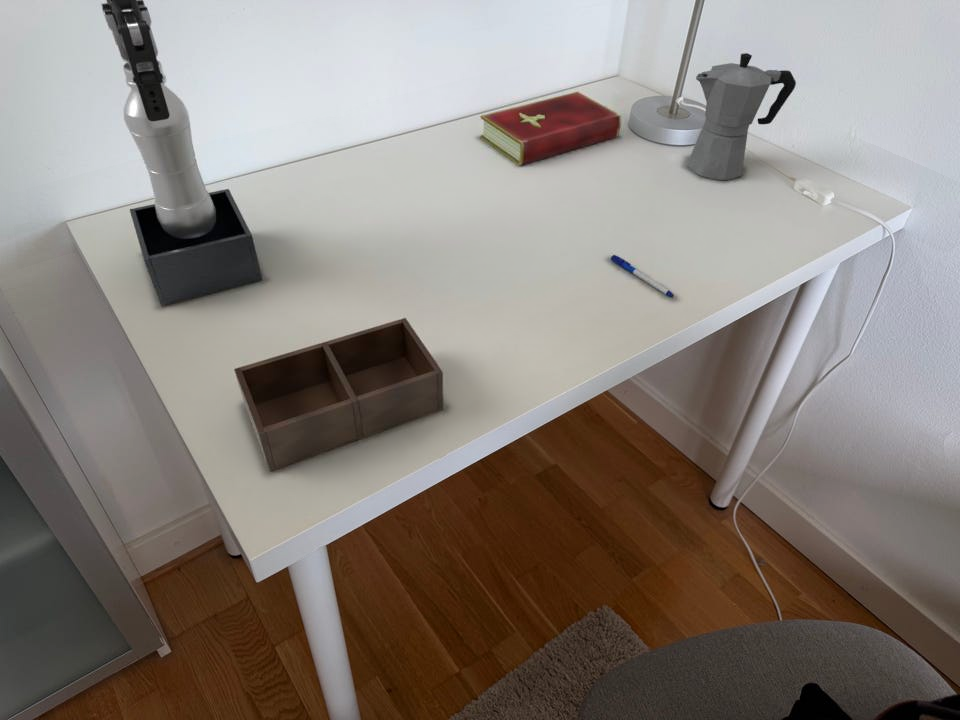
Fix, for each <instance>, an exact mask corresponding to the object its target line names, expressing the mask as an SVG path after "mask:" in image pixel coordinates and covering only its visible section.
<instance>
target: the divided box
mask: <svg viewBox="0 0 960 720" xmlns="http://www.w3.org/2000/svg"><path fill="white" fill-rule="evenodd" d="M233 371H234V374H235V378H236V381H237V383H238V387H239V390H240V393H241V397H242V400H243V403H244V407H245V410H246V412H247V415H248V417H249V420H250V423H251V426H252V429H253V431H254V433H255V436H256V439H257V441H258V444H259V447H260V450H261V453H262V455H263V458H264V460H265V463H266V465H267V468H268V471H269V472H272V471H275V470H278V469H280V468H283V467H286V466H289V465H292V464H295V463H298V462H301V461H304V460H306V459H309V458H312V457H314V456H317V455H319V454H322V453H326V452H328V451H331V450H334V449H336V448H339V447H342V446H345V445H349V444H350V443H353V442H356V441H359V440H362V439H365V438H368V437H370V436H372V435H375V434H378V433H382V432H384V431H387V430H389V429H392V428H395V427H397V426H401V425H403V424H406V423H409V422H412V421H414V420H417V419H420V418H424V417H426V416H429V415H432V414H435V413H437V412H439V411H442V410H444V372H443V370H442V369H441V367H440V366H439V364H438V363H437V362H436V359H434V357H433V356H432V355H431V352H430V351H429V350H428V348H427V347H426V346H425V344H424V343H423V341H422V340H421V338H420V337H419V335H418V333H417V332H416V330H415V329H414V327H412V325H411V324H410V322H409V321H408V319H407V317H404V318H400V319H396V320H393V321H390V322H386V323H383V324H380V325H376V326H373V327H370V328H366V329H363V330H360V331H357V332H354V333H350V334H347V335H343V336H340V337H337V338H333V339H330V340H327V341H324V342H319V343H315V344H313V345H309V346H306V347H302V348H300V349H297V350H293V351H289V352H287V353H282V354H279V355H277V356H273V357H269V358H265V359H263V360H259V361H256V362H252V363H249V364H246V365H241V366H240V367H235V368H234V369H233Z"/></svg>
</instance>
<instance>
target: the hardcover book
mask: <svg viewBox="0 0 960 720" xmlns="http://www.w3.org/2000/svg"><path fill="white" fill-rule="evenodd" d="M480 119H481V120H483V129H482V130H483V133H482V135H480V136H479V139H480V140H482V141H483V142H485V143H486V144H488V145H489V146H490V147H492V148H493V149H494V150H496V151H497V152H499V153H501V154H502V155H503V156H505V157H506V158H507V159H509V160H510V161H511V162H512V163H514V164H516V165H517V166H522V165H526V164H530V163H533V162H536V161H539V160H544V159H546V158H547V159H548V158H551V157H553V156H557V155H560V154H564V153H567V152H570V151H574V150H577V149H581V148H585V147H588V146H590V145H594V144H595V145H596V144H597V143H602V142H605V141H608V140H612V139H614V138H617V137H619V134H620V131H621V125H622V115H621V114H620V113H617V112H616V111H614V110H613V109H610V108H609V107H606V105H603V104H601V103H599V102H598V101H596V100H594V99H593V98H590V97H589V96H587V95H585V94H583V93H582V92H580V91H574V92H571V93H567V94H563V95H558V96H554V97H550V98H546V99H542V100H538V101H535V102H530V103H526V104H522V105H519V106H515V107H511V108H507V109H502V110H498V111H494V112H491V113H486V114H482V115H480Z"/></svg>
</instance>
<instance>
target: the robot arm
mask: <svg viewBox="0 0 960 720" xmlns="http://www.w3.org/2000/svg"><path fill="white" fill-rule="evenodd" d="M100 7H101V10H102V13H103V16H104V19H105V22H106V23H107V26H108V29H109V30H110V31H111V33H112V36H113V39H114V42H115V45H116V46H117V48H118V49H117V50H118V52H119V55H120V58H121V60H122V61H123V62H125V63H127V62H128V63H129V65H130V68H131V71H132V74H133V77H132V79H133V82H134V83H135V84H136V86H137V87H138V90H139V94H140V97H141V100H142V103H143V106H144V110H145V113H146V116H147V118H148V120H150V121H159V120H165V119H168V118H169V116H170V114H169V111H168V107H167V104H166V100H165V97H164V93H163V90H162V86H161V83H163V80H162V79H163V75H162V73H160V69H159V66H158V62H157V60H158V55H159V50H158V47H157V43H156V41H155V37H154V34H153V31H152V28H151V27H152V18H151V15H150V12H149V9H148V6H146V4H145V1H144V0H106V2H104V3H100ZM141 62H150V63H151V67H152V70H150V71H143V72H138V70H137V67H136V65H137V63H141Z"/></svg>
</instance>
